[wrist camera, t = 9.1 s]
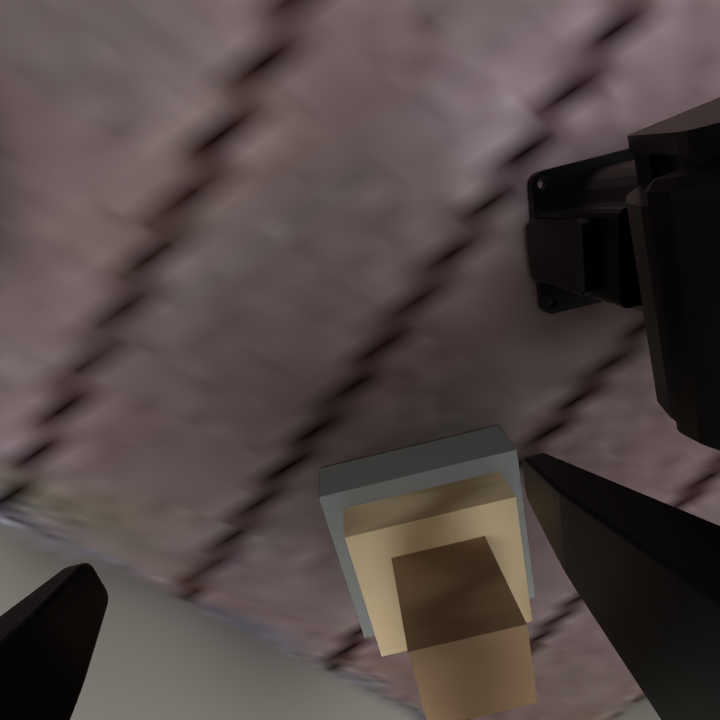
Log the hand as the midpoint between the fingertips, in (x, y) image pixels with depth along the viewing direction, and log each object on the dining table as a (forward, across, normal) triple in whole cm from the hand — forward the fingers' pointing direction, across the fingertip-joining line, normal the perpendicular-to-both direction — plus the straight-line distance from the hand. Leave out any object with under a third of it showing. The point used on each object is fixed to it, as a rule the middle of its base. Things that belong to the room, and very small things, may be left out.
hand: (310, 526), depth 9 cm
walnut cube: (+8, -3, +12) cm, 15 cm away
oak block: (+10, -3, +12) cm, 16 cm away
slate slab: (+13, -3, +12) cm, 18 cm away
